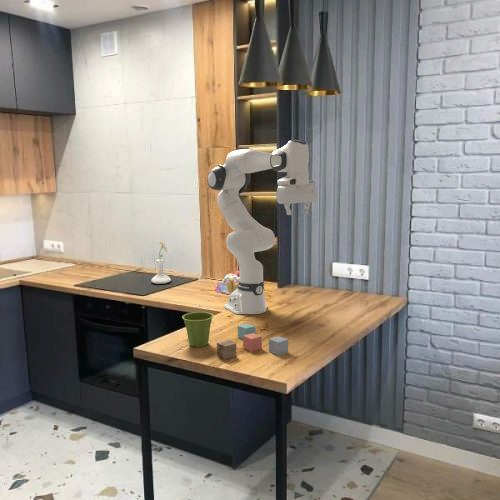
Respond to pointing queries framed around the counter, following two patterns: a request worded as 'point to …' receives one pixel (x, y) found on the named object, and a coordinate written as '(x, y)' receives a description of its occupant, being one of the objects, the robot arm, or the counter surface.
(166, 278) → the flower in vase
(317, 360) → the counter surface
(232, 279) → the candy landscape model
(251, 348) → the brick-red block
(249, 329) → the muted teal block
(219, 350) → the walnut block
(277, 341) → the slate grey block
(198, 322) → the plant pot
